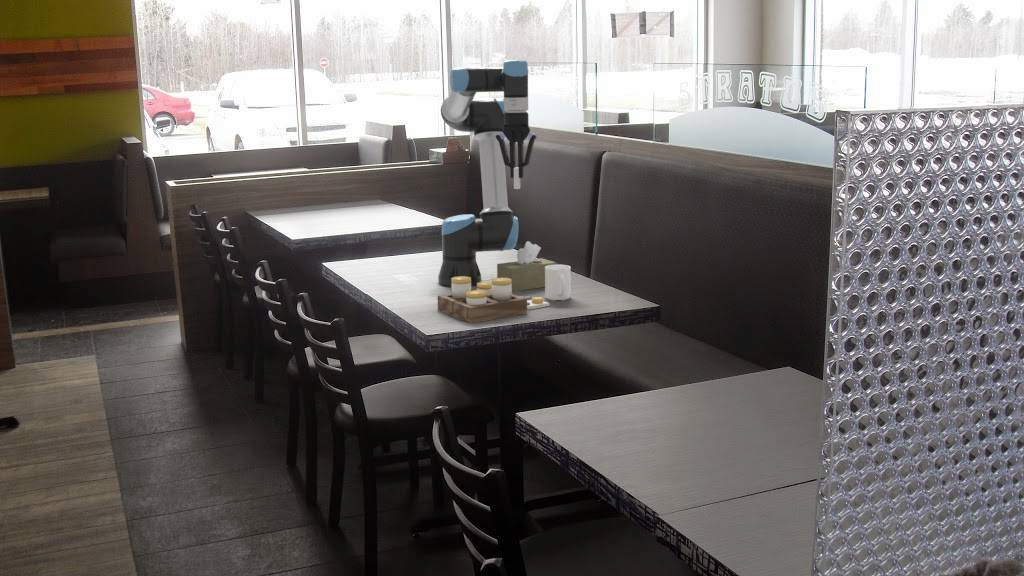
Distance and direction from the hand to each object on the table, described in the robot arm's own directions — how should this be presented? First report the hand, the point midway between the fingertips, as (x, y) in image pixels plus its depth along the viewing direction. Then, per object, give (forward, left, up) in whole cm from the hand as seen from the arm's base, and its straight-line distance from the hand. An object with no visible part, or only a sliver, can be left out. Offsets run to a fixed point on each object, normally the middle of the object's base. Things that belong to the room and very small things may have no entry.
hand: (517, 188), depth 306 cm
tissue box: (-19, +16, -37) cm, 45 cm away
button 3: (0, -12, -35) cm, 37 cm away
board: (+4, -16, -36) cm, 40 cm away
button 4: (+8, -12, -32) cm, 35 cm away
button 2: (+8, -21, -35) cm, 41 cm away
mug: (+4, +13, -37) cm, 39 cm away
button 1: (0, -20, -32) cm, 38 cm away
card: (+4, 0, -36) cm, 37 cm away
